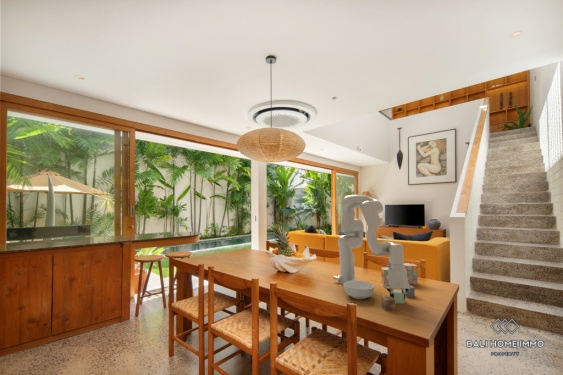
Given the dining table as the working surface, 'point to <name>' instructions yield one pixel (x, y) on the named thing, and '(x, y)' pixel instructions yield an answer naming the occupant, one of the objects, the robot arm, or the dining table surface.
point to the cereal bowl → (358, 289)
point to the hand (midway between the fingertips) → (397, 300)
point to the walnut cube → (388, 303)
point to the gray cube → (410, 292)
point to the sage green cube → (398, 296)
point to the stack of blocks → (410, 270)
